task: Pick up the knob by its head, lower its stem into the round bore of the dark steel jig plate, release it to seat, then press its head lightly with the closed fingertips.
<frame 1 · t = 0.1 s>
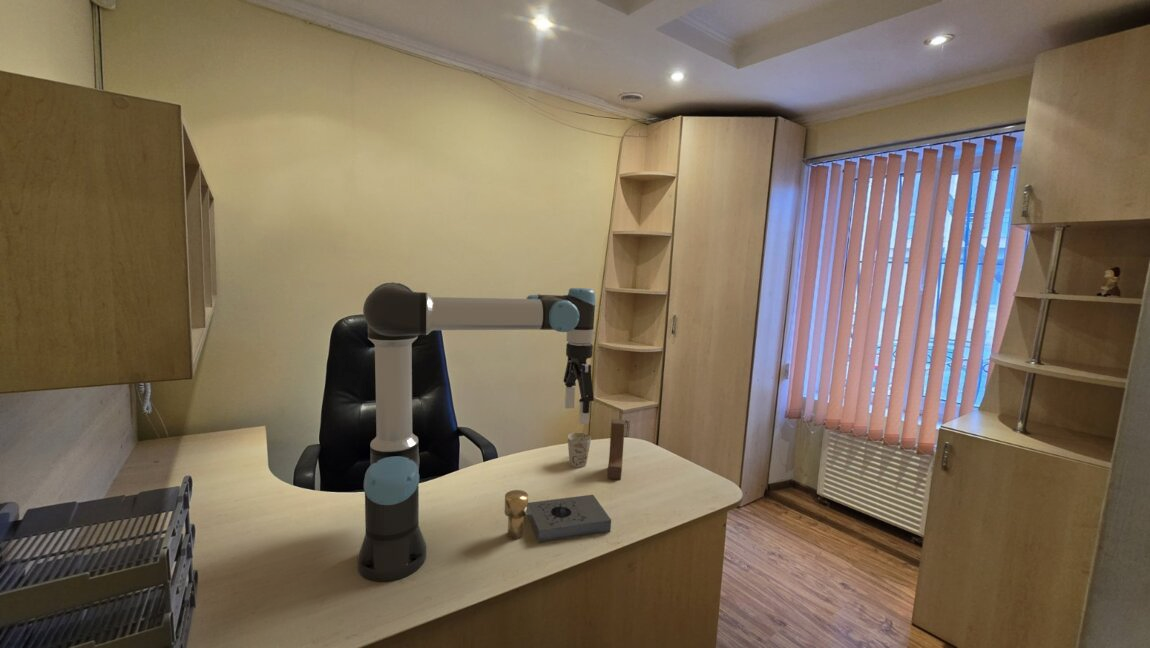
hand: (576, 415, 135), 28 cm above the table, fingers open, 13 cm apart
knob: (515, 534, 123), on the table
jig: (567, 522, 130), on the table
mug: (579, 461, 170), on the table
wooden block: (614, 474, 161), on the table
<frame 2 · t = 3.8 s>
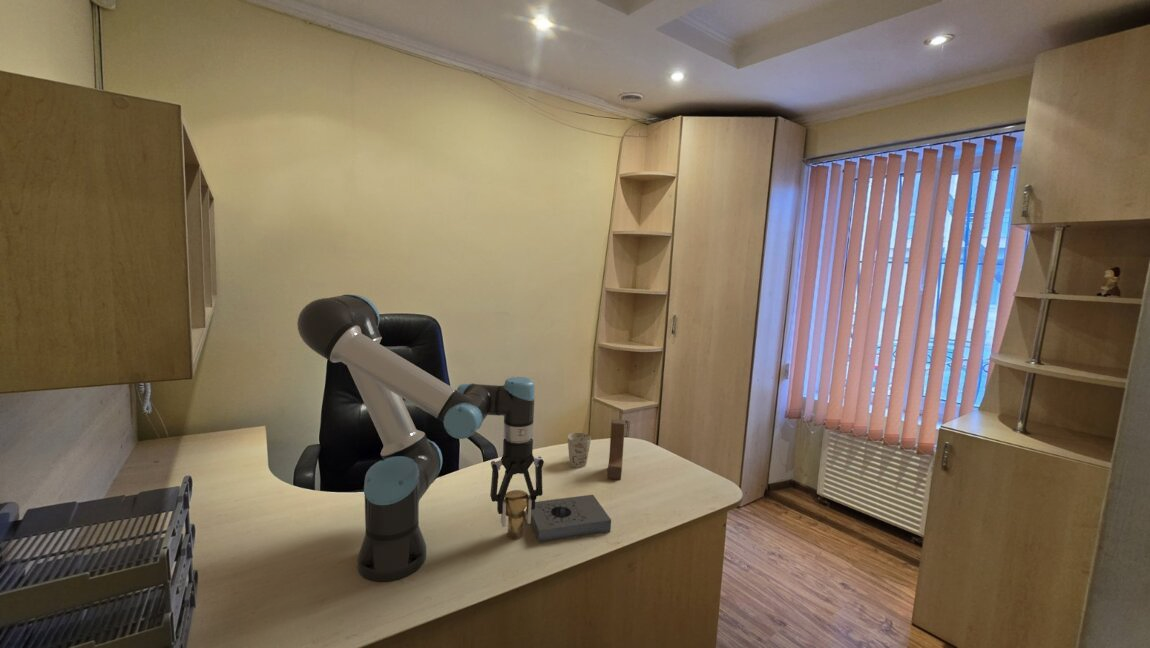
hand: (515, 522, 123), 4 cm above the table, fingers closed on knob, 6 cm apart
knob: (515, 534, 123), on the table, touching gripper
everything else where it was.
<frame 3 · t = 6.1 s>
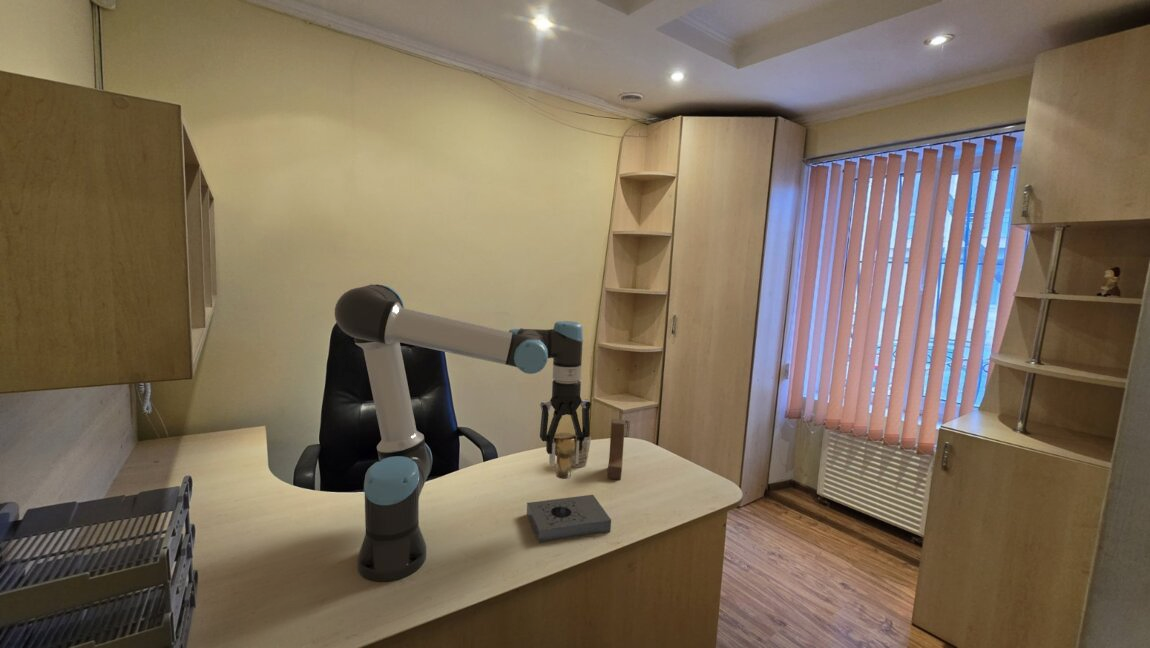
hand: (563, 462, 127), 18 cm above the table, fingers closed on knob, 6 cm apart
knob: (563, 475, 127), point 14 cm above the table, touching gripper
everything else where it was.
when the fingers open (5 cm above the table, at t = 8.4 s): knob drops 2 cm, resting in jig.
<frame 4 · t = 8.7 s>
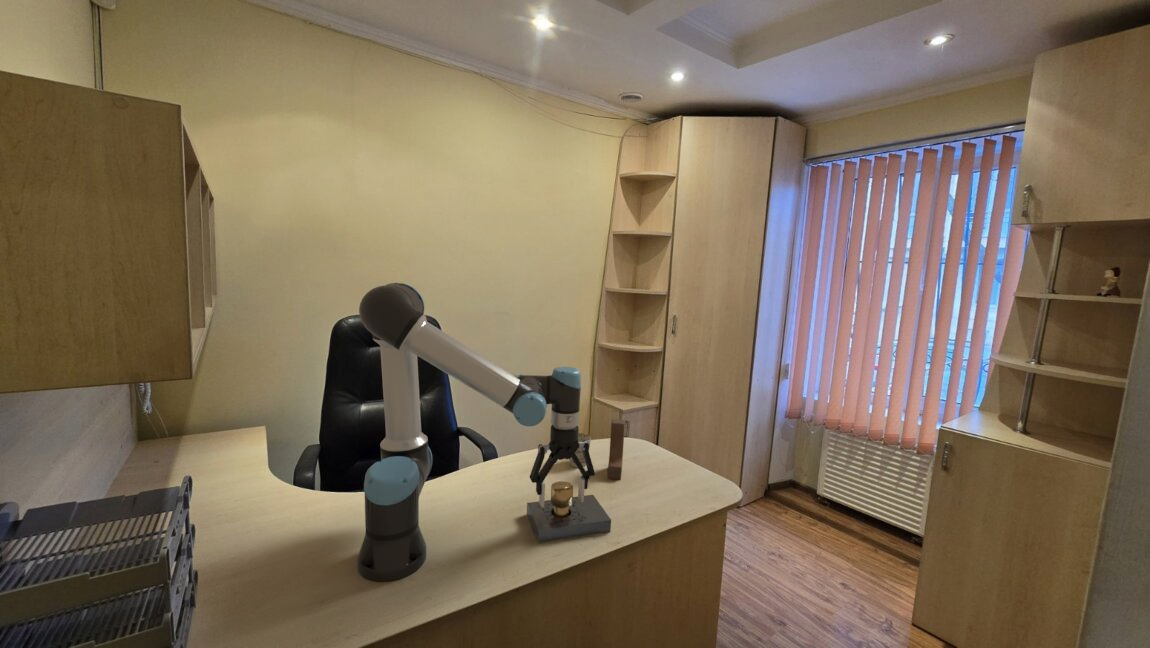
hand: (561, 502, 128), 6 cm above the table, fingers open, 10 cm apart
knob: (560, 524, 129), resting in jig
everything else where it was.
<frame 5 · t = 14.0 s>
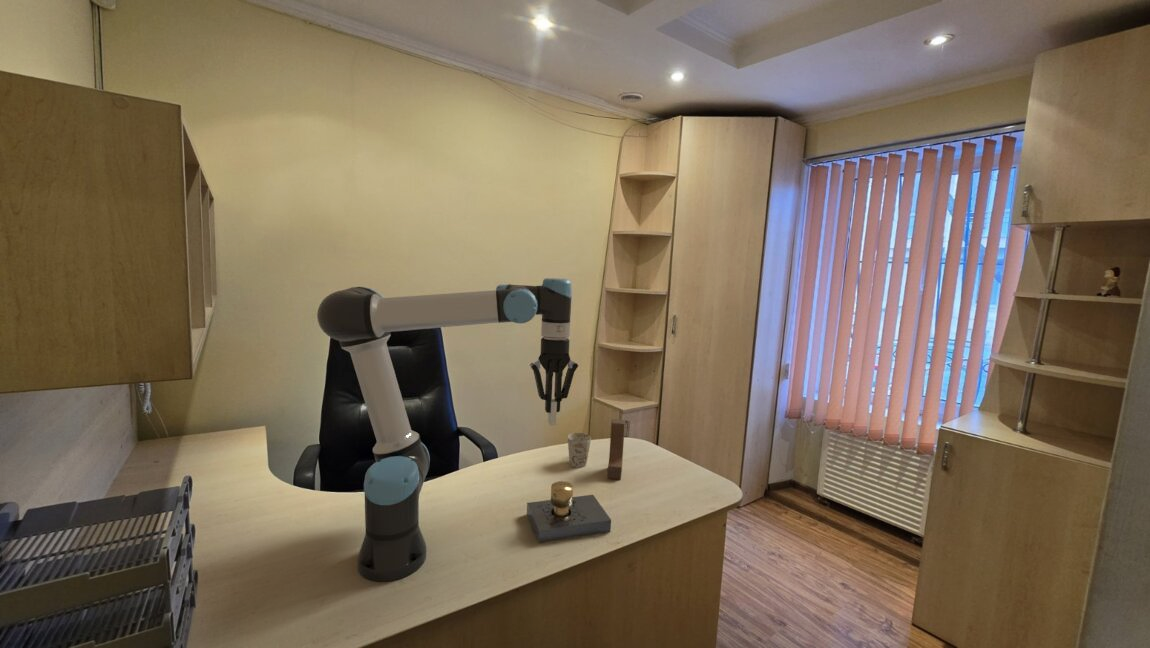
hand: (552, 423, 126), 28 cm above the table, fingers closed
nothing on the table moved.
at the end: knob 0.0 cm from the target spot in the jig, point 0.0 cm above the jig's base; knob tilted 0°; the gripper is holding nothing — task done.
